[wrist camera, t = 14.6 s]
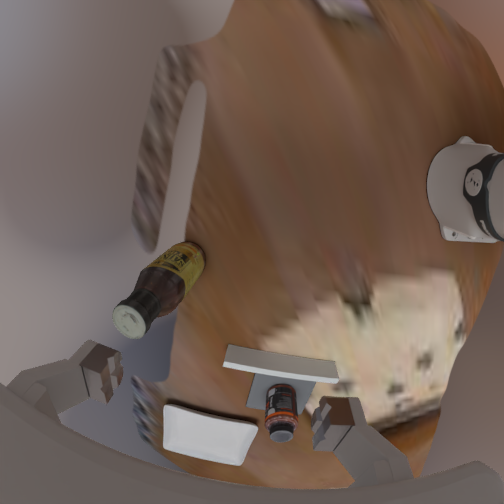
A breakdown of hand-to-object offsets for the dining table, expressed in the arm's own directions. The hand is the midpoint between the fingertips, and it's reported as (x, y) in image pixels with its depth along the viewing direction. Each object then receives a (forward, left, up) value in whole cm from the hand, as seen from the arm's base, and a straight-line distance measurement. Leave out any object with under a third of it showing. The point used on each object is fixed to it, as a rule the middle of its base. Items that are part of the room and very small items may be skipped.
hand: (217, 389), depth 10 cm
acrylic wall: (-9, +23, -33) cm, 41 cm away
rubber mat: (-11, +32, -33) cm, 47 cm away
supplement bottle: (-11, +32, -33) cm, 47 cm away
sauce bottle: (+10, +8, -33) cm, 36 cm away
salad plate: (+2, +52, -34) cm, 62 cm away
